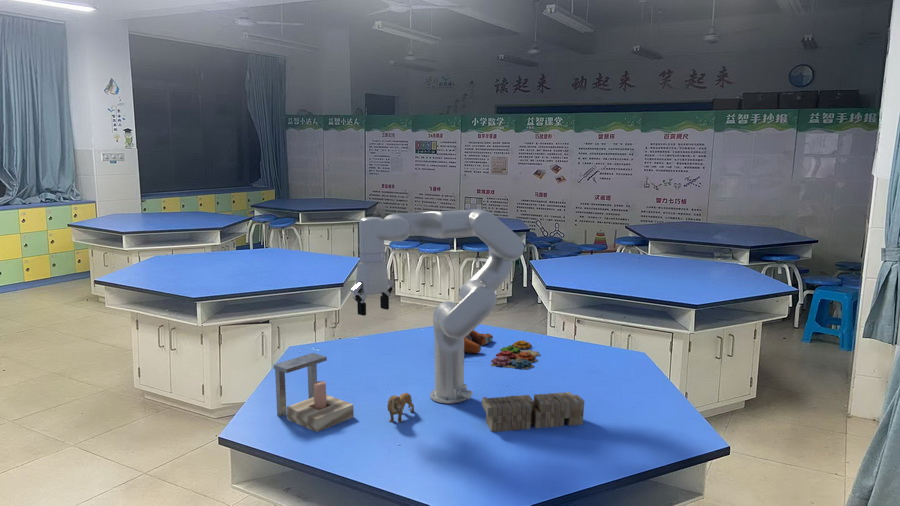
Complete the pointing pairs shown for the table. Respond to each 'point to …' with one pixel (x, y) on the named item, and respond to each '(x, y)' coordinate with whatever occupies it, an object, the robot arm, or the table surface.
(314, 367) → the grey piece
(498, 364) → the gear puzzle
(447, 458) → the table surface
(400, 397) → the lion figurine
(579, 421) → the block tower
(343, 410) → the socket block
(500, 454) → the table surface
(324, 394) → the peg
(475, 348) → the camel toy
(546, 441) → the table surface
